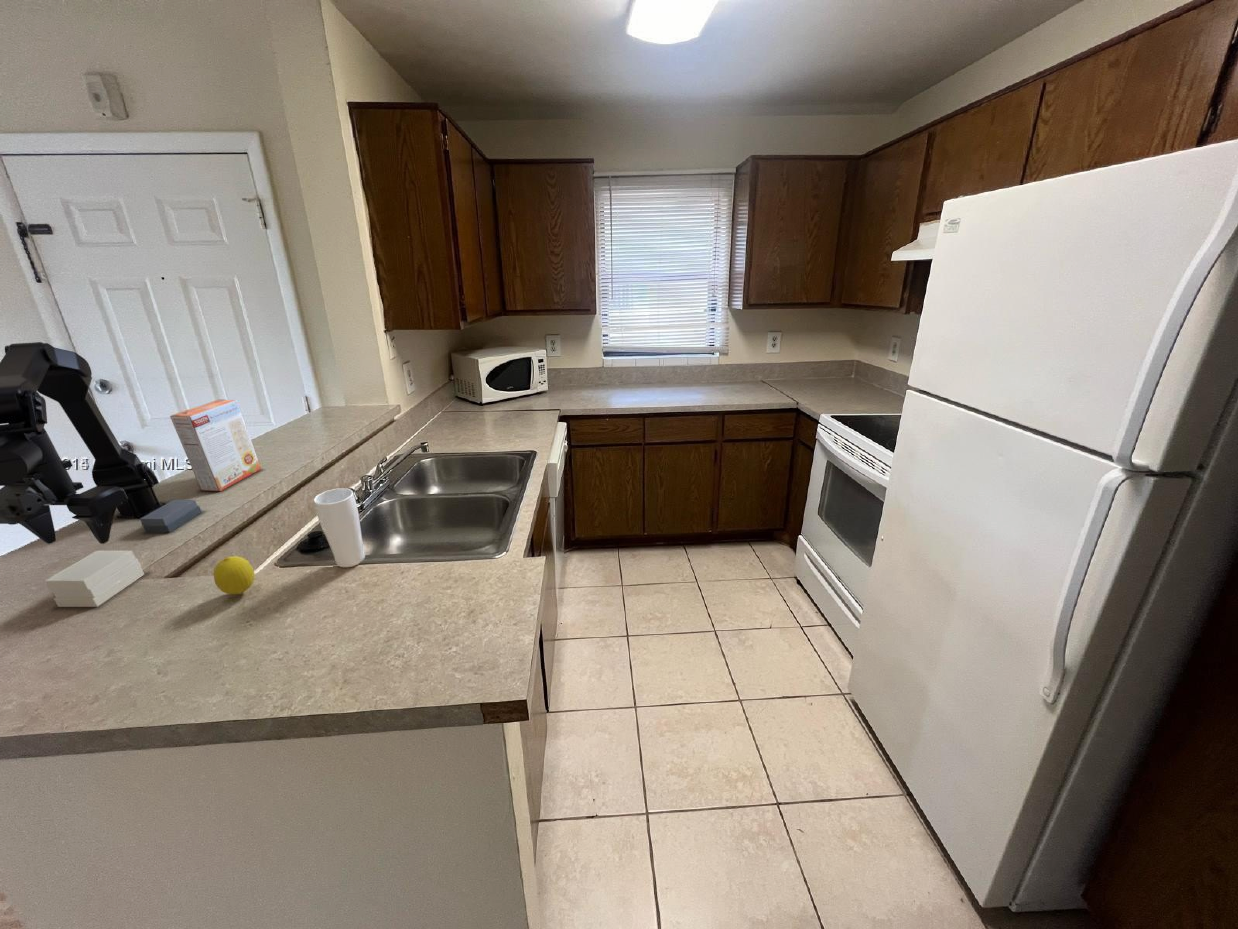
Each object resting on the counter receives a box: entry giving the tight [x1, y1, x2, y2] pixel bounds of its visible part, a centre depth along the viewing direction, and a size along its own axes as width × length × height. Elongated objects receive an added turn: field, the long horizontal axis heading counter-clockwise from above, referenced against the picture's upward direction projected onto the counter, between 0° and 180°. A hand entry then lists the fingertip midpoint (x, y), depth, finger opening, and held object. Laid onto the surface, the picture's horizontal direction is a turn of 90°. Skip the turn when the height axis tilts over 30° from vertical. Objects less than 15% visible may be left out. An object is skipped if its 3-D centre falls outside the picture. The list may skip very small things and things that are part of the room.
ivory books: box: [51, 558, 145, 608], centre depth 86 cm, size 9×7×4 cm
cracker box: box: [169, 398, 262, 492], centre depth 125 cm, size 14×6×21 cm, turn 174°
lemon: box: [213, 555, 255, 595], centre depth 85 cm, size 6×6×8 cm
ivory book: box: [44, 550, 137, 591], centre depth 85 cm, size 9×7×2 cm
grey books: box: [139, 499, 202, 534], centre depth 108 cm, size 9×5×4 cm, turn 1°
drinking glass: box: [313, 487, 366, 568], centre depth 93 cm, size 7×7×15 cm
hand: (78, 542), depth 83 cm, fingers open, 9 cm apart
